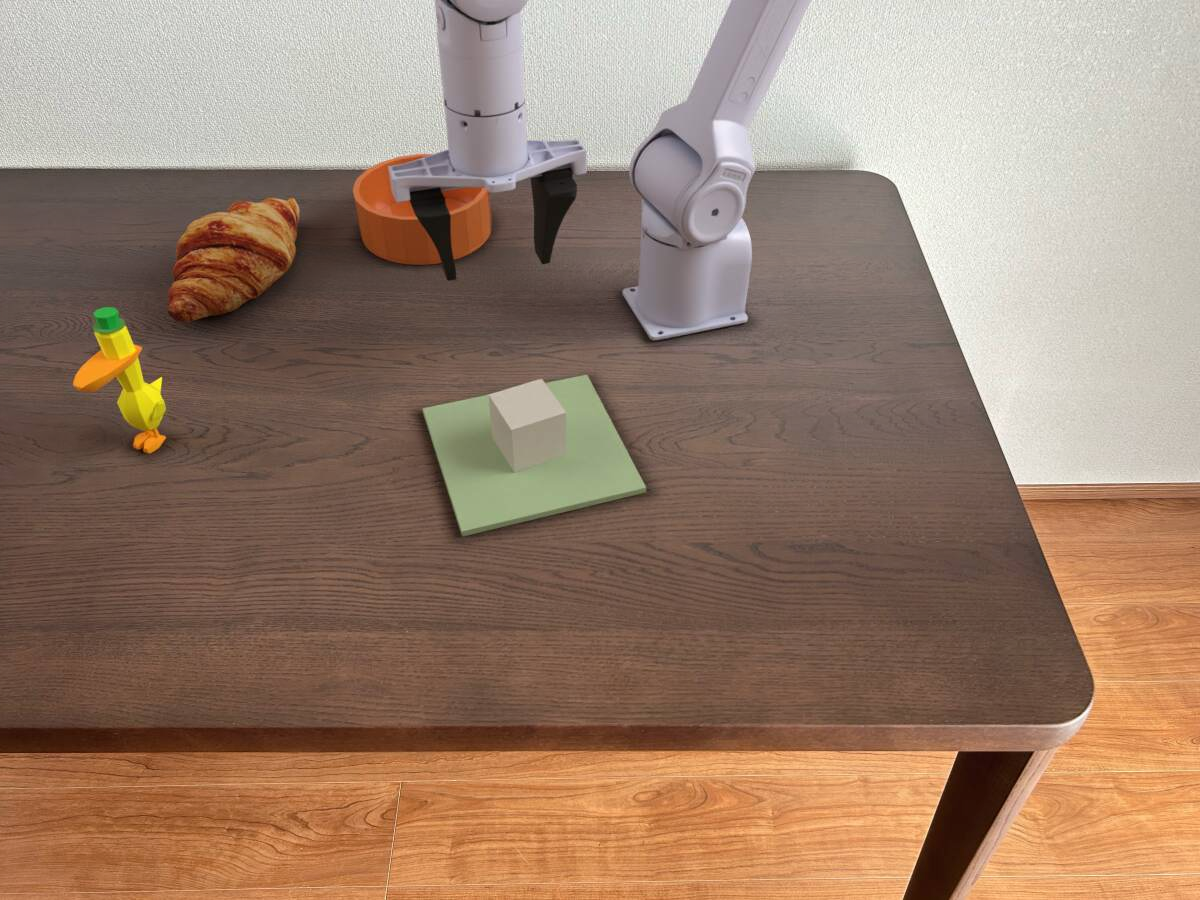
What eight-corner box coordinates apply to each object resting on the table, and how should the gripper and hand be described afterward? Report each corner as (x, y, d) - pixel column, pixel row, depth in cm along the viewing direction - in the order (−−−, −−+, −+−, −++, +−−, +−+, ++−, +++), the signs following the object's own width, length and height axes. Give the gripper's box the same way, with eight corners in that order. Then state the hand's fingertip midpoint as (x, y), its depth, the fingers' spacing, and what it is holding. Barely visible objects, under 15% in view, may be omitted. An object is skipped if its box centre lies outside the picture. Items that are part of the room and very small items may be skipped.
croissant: (278, 244, 103) (230, 178, 99) (348, 215, 98) (301, 145, 94) (166, 361, 88) (104, 289, 83) (244, 333, 83) (182, 255, 79)
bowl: (474, 189, 105) (470, 146, 102) (505, 252, 96) (503, 206, 93) (352, 208, 102) (344, 164, 99) (372, 274, 93) (364, 228, 90)
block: (543, 420, 77) (541, 378, 74) (567, 455, 74) (566, 412, 71) (491, 437, 76) (488, 394, 73) (514, 473, 73) (511, 429, 70)
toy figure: (135, 479, 73) (78, 352, 64) (98, 465, 74) (37, 338, 65) (195, 424, 77) (149, 298, 69) (160, 412, 78) (110, 287, 70)
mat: (586, 379, 82) (587, 374, 81) (646, 492, 72) (646, 487, 72) (423, 413, 78) (422, 407, 78) (462, 537, 69) (461, 531, 68)
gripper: (391, 138, 63) (416, 309, 73) (600, 109, 67) (598, 276, 76) (374, 95, 68) (399, 260, 78) (570, 70, 72) (571, 231, 81)
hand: (496, 265), depth 77 cm, fingers open, 7 cm apart
